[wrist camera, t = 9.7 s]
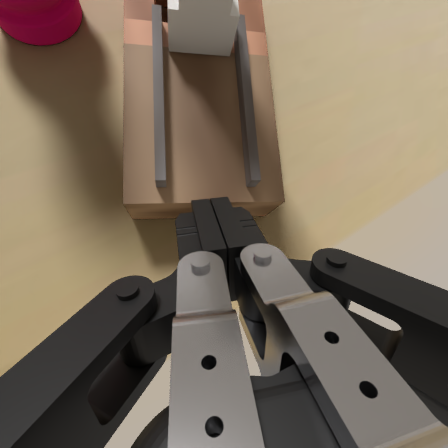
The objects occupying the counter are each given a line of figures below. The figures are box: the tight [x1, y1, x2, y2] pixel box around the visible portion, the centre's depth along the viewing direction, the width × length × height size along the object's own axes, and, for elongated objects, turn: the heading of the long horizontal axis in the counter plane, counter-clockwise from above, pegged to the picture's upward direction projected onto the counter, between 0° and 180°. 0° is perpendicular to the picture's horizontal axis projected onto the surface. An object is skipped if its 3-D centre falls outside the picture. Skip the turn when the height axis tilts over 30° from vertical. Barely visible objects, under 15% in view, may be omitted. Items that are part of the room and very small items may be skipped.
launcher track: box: [123, 0, 285, 219], centre depth 20 cm, size 10×21×5 cm, turn 4°
